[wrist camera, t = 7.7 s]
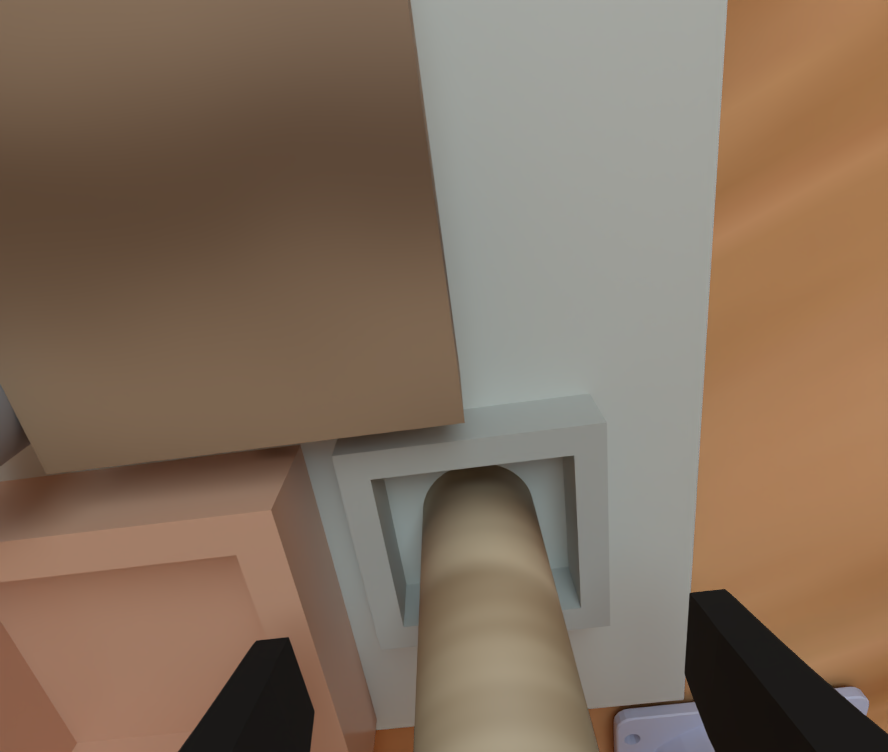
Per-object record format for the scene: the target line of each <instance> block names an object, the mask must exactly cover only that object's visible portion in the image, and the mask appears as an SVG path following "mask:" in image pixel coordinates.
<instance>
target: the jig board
mask: <svg viewBox="0 0 888 752" xmlns="http://www.w3.org/2000/svg"><path fill="white" fill-rule="evenodd" d="M410 1H411V9H412V16H413V24H414V31H415V39H416V46H417V54H418V61H419V69H420V76H421V84H422V91H423V99H424V106H425V114H426V121H427V129H428V136H429V144H430V151H431V159H432V166H433V173H434V181H435V188H436V196H437V203H438V211H439V218H440V226H441V233H442V241H443V248H444V256H445V263H446V271H447V278H448V286H449V293H450V301H451V308H452V316H453V323H454V331H455V338H456V346H457V353H458V361H459V368H460V378H461V389H462V399H463V410H464V421H465V423H460V424H452V425H444V426H436V427H428V428H420V429H412V430H403V431H395V432H387V433H379V434H371V435H363V436H355V437H347V438H339V439H330V440H322V441H314V442H306V443H298V444H290V445H282V446H274V447H266V448H257V449H249V450H241V451H233V452H225V453H217V454H209V455H201V456H193V457H184V458H176V459H168V460H160V461H152V462H144V463H136V464H128V465H120V466H111V467H103V468H95V469H87V470H79V471H71V472H63V473H55V474H47V475H46V473H45V471H44V469H43V467H42V465H41V463H40V461H39V459H38V457H37V455H36V453H35V451H34V449H33V447H32V445H31V443H30V441H29V439H28V437H27V436H26V434H25V432H24V430H23V428H22V426H21V424H20V422H19V420H18V418H17V416H16V414H15V412H14V410H13V408H12V406H11V404H10V402H9V400H8V398H7V396H6V394H5V392H4V390H3V388H2V386H1V384H0V482H1V481H9V480H17V479H25V478H33V477H41V476H50V475H58V474H66V473H74V472H82V471H90V470H98V469H106V468H114V467H122V466H131V465H139V464H147V463H155V462H163V461H171V460H179V459H187V458H195V457H204V456H212V455H220V454H228V453H236V452H244V451H252V450H260V449H268V448H276V447H285V446H293V445H301V448H302V452H303V455H304V459H305V463H306V466H307V470H308V473H309V477H310V481H311V484H312V488H313V491H314V495H315V499H316V502H317V506H318V509H319V513H320V517H321V520H322V524H323V527H324V531H325V534H326V538H327V542H328V545H329V549H330V552H331V556H332V560H333V563H334V567H335V570H336V574H337V578H338V581H339V585H340V588H341V592H342V596H343V599H344V603H345V606H346V610H347V614H348V617H349V621H350V624H351V628H352V632H353V635H354V639H355V642H356V646H357V650H358V653H359V657H360V660H361V664H362V668H363V671H364V675H365V678H366V682H367V686H368V689H369V693H370V696H371V700H372V704H373V707H374V711H375V714H376V718H377V723H376V730H382V729H392V728H402V727H412V726H415V701H416V676H417V650H418V625H419V600H420V575H421V550H422V524H423V504H424V499H425V497H426V494H427V492H428V490H429V488H430V487H431V486H432V484H433V483H434V482H435V481H436V480H437V479H438V478H439V477H440V476H442V475H443V474H444V473H446V472H448V471H449V470H456V469H465V468H473V467H481V466H490V465H498V466H501V467H504V468H506V469H508V470H510V471H512V472H514V473H515V474H516V475H517V476H519V477H520V478H521V479H522V480H523V481H524V482H525V484H526V485H527V487H528V488H529V490H530V493H531V495H532V499H533V502H534V506H535V510H536V514H537V518H538V521H539V525H540V529H541V533H542V537H543V540H544V544H545V548H546V552H547V556H548V559H549V563H550V567H551V571H552V575H553V578H554V582H555V586H556V590H557V593H558V597H559V601H560V605H561V609H562V612H563V616H564V620H565V624H566V628H567V631H568V635H569V639H570V643H571V647H572V650H573V654H574V658H575V662H576V666H577V669H578V673H579V677H580V681H581V684H582V688H583V692H584V696H585V700H586V703H587V707H588V709H594V708H604V707H614V706H624V705H634V704H644V703H655V702H665V701H675V700H684V688H685V674H684V671H685V655H686V640H687V624H688V609H689V593H690V592H691V576H692V560H693V544H694V528H695V512H696V496H697V480H698V464H699V448H700V432H701V416H702V400H703V384H704V368H705V352H706V336H707V320H708V304H709V288H710V272H711V256H712V240H713V224H714V208H715V192H716V176H717V160H718V144H719V128H720V112H721V96H722V80H723V64H724V48H725V32H726V16H727V0H410Z"/></svg>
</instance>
